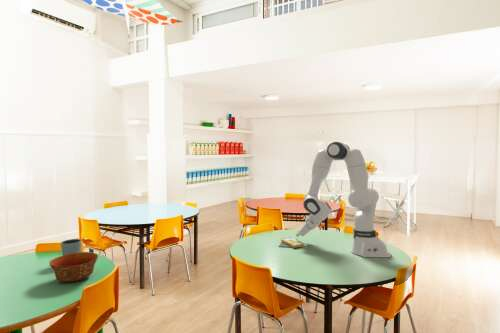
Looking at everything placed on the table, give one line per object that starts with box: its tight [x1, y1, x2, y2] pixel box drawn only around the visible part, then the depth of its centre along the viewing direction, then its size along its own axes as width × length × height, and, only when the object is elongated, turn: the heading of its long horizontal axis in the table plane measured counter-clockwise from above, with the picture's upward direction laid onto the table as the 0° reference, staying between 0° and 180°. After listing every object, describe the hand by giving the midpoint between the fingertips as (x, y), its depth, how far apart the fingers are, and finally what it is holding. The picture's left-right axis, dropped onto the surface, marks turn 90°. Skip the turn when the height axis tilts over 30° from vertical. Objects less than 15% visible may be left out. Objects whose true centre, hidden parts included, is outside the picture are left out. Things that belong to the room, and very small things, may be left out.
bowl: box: [48, 251, 99, 283], centre depth 159 cm, size 21×21×10 cm
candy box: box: [280, 237, 306, 249], centre depth 217 cm, size 16×2×8 cm
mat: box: [278, 238, 298, 249], centre depth 221 cm, size 10×20×1 cm, turn 166°
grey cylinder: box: [60, 238, 82, 256], centre depth 183 cm, size 10×10×12 cm
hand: (296, 235), depth 219 cm, fingers closed
